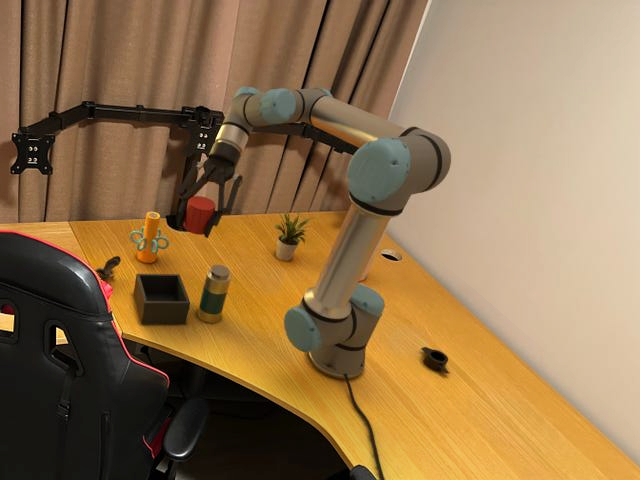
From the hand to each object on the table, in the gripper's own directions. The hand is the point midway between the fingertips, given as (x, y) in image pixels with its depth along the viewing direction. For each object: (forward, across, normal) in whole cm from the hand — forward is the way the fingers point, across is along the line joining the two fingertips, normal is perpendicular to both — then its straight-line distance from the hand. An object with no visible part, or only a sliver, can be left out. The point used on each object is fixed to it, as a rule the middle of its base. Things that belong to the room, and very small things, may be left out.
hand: (192, 230), depth 159 cm
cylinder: (+4, +19, -36) cm, 41 cm away
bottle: (-21, -41, -60) cm, 76 cm away
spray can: (+15, -8, -24) cm, 30 cm away
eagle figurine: (+16, +24, -24) cm, 37 cm away
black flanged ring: (+2, -71, -37) cm, 80 cm away
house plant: (-17, -16, -56) cm, 61 cm away
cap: (-2, 0, -3) cm, 4 cm away
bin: (+19, +5, -20) cm, 28 cm away
